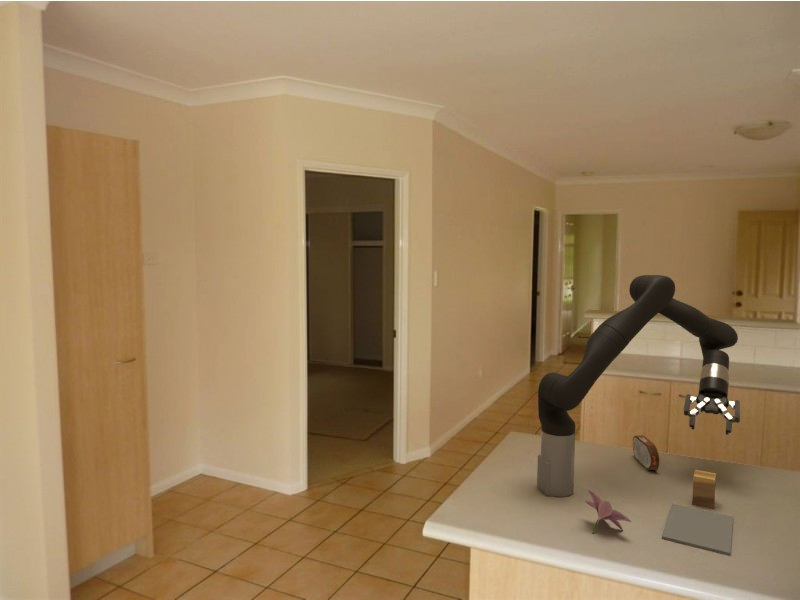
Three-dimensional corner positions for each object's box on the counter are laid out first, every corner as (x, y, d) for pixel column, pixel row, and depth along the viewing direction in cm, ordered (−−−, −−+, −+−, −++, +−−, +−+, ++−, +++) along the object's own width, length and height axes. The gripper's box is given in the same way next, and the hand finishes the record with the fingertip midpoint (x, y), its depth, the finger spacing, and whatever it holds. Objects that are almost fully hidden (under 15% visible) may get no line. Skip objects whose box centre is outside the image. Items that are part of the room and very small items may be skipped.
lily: (632, 549, 131) (643, 508, 134) (586, 531, 131) (597, 490, 133) (606, 539, 143) (617, 502, 145) (564, 522, 142) (575, 485, 145)
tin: (660, 474, 172) (661, 447, 171) (649, 474, 172) (650, 447, 171) (640, 456, 187) (641, 431, 186) (630, 456, 187) (631, 431, 186)
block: (713, 509, 149) (715, 480, 148) (692, 504, 152) (693, 475, 151) (714, 502, 153) (716, 473, 152) (693, 497, 156) (695, 469, 155)
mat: (730, 555, 127) (730, 552, 127) (661, 538, 134) (661, 536, 134) (732, 518, 144) (733, 516, 144) (672, 505, 151) (672, 503, 151)
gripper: (686, 372, 171) (681, 420, 162) (742, 378, 163) (739, 428, 154) (687, 386, 176) (682, 433, 167) (741, 392, 168) (738, 441, 159)
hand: (709, 430), depth 161 cm, fingers open, 8 cm apart
